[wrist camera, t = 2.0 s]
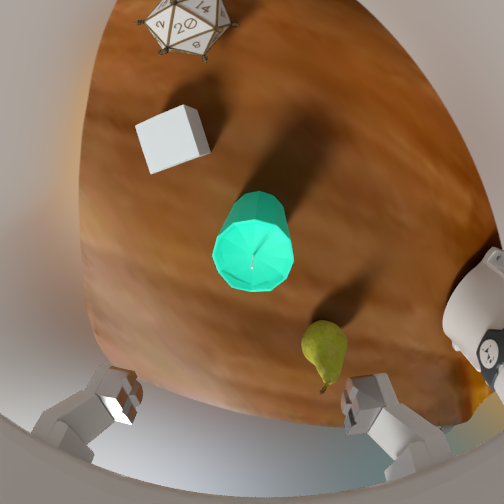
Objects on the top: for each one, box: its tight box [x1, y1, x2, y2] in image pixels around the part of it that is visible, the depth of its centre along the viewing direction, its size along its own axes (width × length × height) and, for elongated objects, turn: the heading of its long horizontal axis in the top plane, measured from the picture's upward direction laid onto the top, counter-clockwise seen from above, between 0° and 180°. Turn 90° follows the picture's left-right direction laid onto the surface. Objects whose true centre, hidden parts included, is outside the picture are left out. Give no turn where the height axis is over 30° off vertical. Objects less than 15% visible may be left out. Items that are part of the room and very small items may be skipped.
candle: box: [212, 191, 294, 292], centre depth 24 cm, size 6×6×12 cm
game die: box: [134, 0, 239, 63], centre depth 17 cm, size 9×8×10 cm
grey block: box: [135, 105, 211, 174], centre depth 24 cm, size 5×5×5 cm
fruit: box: [302, 320, 348, 394], centre depth 29 cm, size 6×6×12 cm
